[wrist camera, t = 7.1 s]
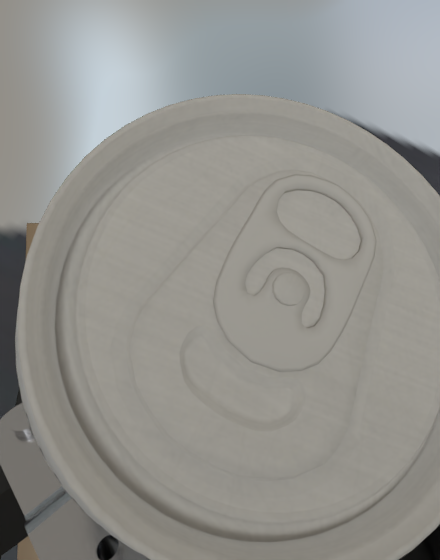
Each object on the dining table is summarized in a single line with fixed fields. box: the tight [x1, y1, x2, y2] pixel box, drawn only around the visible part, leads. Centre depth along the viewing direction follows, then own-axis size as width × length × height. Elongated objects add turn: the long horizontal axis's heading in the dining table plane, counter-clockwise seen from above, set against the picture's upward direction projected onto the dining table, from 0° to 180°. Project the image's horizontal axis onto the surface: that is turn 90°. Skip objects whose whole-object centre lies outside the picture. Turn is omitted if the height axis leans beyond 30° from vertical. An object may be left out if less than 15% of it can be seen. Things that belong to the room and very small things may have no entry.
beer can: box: [15, 94, 440, 560], centre depth 11 cm, size 6×6×15 cm
